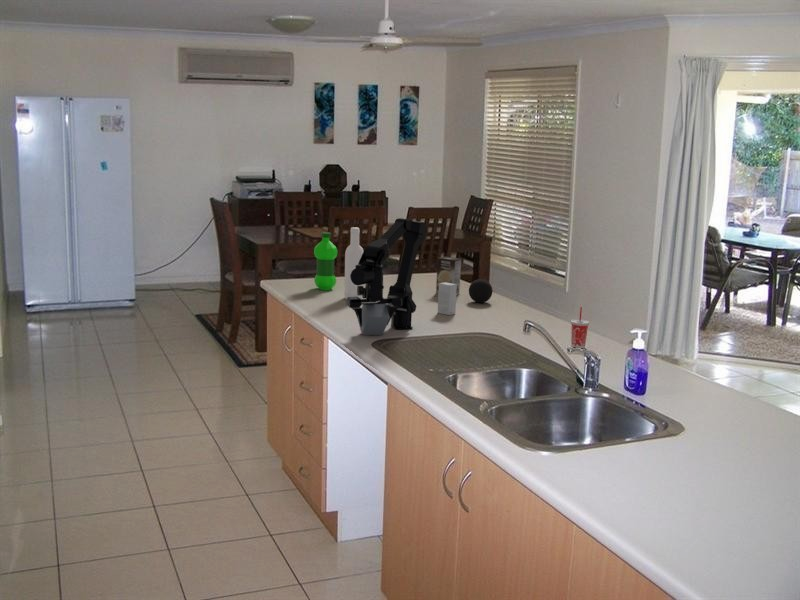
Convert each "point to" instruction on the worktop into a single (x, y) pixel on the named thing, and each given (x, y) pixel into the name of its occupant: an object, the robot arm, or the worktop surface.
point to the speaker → (480, 291)
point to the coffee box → (448, 272)
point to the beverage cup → (579, 332)
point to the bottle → (352, 263)
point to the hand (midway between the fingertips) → (373, 325)
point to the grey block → (374, 319)
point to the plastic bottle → (325, 262)
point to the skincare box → (447, 298)
